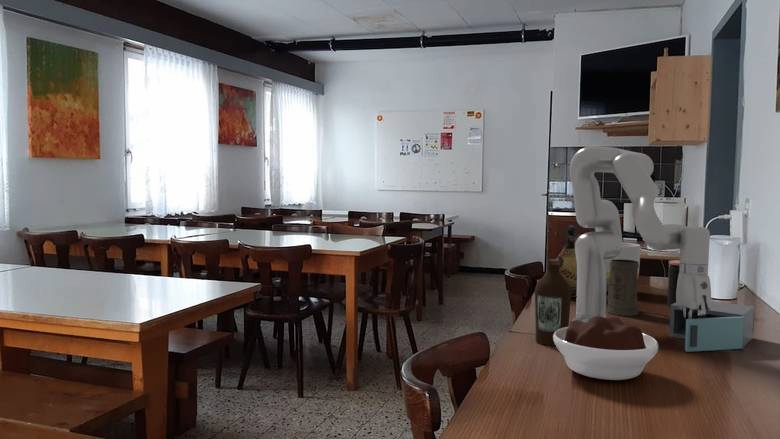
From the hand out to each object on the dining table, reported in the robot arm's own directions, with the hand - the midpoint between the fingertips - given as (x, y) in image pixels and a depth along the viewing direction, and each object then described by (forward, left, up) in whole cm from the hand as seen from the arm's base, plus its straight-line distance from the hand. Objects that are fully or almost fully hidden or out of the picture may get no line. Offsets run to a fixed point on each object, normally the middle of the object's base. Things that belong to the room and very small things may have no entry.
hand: (690, 331), depth 176 cm
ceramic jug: (+52, +63, -5) cm, 82 cm away
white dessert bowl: (-40, +9, -5) cm, 42 cm away
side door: (+2, -6, -5) cm, 8 cm away
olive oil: (-21, +33, -5) cm, 40 cm away
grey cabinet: (+19, -1, -5) cm, 19 cm away
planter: (+73, +51, -5) cm, 89 cm away
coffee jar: (+59, +19, -5) cm, 62 cm away
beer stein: (+37, +33, -5) cm, 50 cm away
